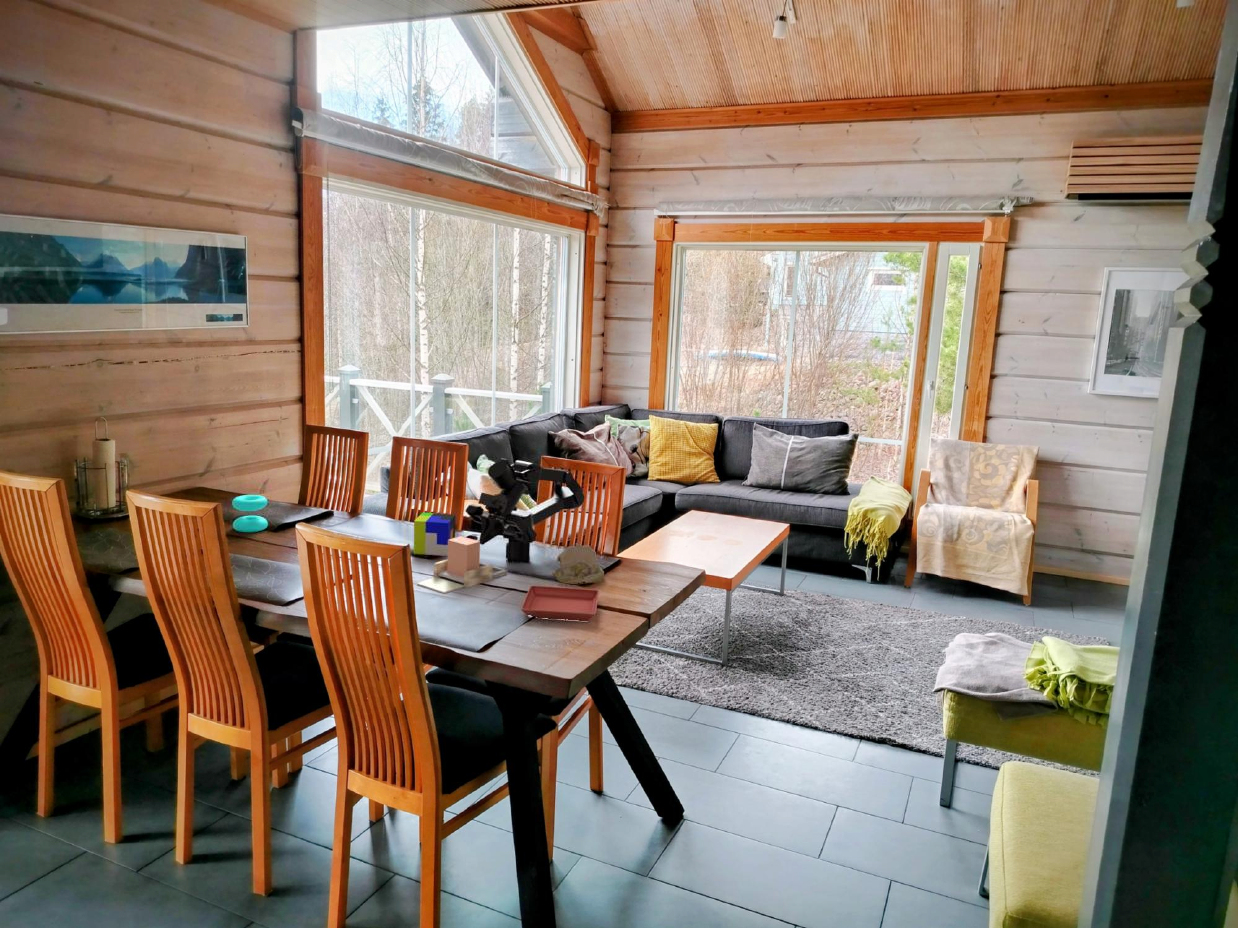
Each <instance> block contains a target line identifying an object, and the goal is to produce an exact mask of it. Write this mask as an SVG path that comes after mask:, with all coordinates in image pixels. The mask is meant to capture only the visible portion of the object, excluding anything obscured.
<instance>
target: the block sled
mask: <svg viewBox="0 0 1238 928" xmlns="http://www.w3.org/2000/svg"><path fill="white" fill-rule="evenodd" d="M480 554H481V544H480V541H479V540H477V539H473V538H470V537H469V538H468V537H465V536H462V535H460V536H457V537H455V538H453V539H449V540H448V556H447V559H448V562H447V570H446V571H443V572H440V573H439V576H442V577H443V578H447V579H449V580H452V581H456V582H458V583H461V584H464V572H467V571H470V570H474V569H477V568H479V562H480V561H481V560H480V559H481V557H480Z"/></svg>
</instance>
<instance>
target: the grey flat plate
mask: <svg viewBox="0 0 1238 928" xmlns="http://www.w3.org/2000/svg"><path fill="white" fill-rule="evenodd" d="M486 565H489V564H487V563H484V562H480V561H479V568H480V567H483V566H486ZM507 574H508V569H505V568H502V567H498V566H494V565H493V575H492V579H491V580H493V579H496V578H499V577H501V576H504V575H507Z"/></svg>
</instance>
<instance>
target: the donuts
mask: <svg viewBox="0 0 1238 928" xmlns="http://www.w3.org/2000/svg"><path fill="white" fill-rule="evenodd" d="M231 504H232V506H233V508H235V510H239V511H241V512H256V511H259V510H261V509H264V508H265V507H266V506H267V505H268V499H267V498H266V497H265V496H264V495H259V494H258V495H256V494H245V495H240V496H236V497H234V498H233V500H232V502H231ZM268 525H269V523H268V520H267V519H266V518H265V517H262V516H259V515H244V516H240V517H238V518H236V519H235V520H234V521H233V522H232V527H233V529H234V530H235V531H237V532H239V533H241V532H242V533H256V532H261V531H264V530H265V529H266V528H268Z"/></svg>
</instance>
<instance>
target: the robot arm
mask: <svg viewBox="0 0 1238 928" xmlns="http://www.w3.org/2000/svg"><path fill="white" fill-rule="evenodd" d="M487 474H488V476H489V478H491V479H490V480H491V481H493V482H494V483H495V486H496V487H498V488H499V489H501V491H500V492H499V493H495V494H494V495H493V494H489V493H487V492H486V493H485V492H481V494H480V497H479V499H478V502H477V503H478V504H479V505H478V504H473V503H472V504H468V505H467V507H466V509H465V511H464V512H465V513H467V515H468V516H469V517H470V518H471V520H472V521H474V522H475V523H478V524H481V530H480V534H479V540H478V541H480V545H481V546H484V545H485V544H486V543H488V542H489V541H491V540H492V539H494V538H496V537H498V536H500V535H501V534H502V539H507V540H508V541H507V542H506V543H505V559H506V562H507V563H512V562H519V563H518V564H521V563H520V562H525V564H529V562H530V563H531V561H530V559H531V556H530V553H531V552H530V551H531V550H530V548H531V544H532V543H534V542H535V541H536V540H537V535H538V534H537V532H536V531H535V530H534V527H535V526H536V525H538V524H540V523H542V522H543V521H545V520H547V519H549V518H551V517H552V516H555V515H556V514H558V513H559V512H561V511H565V510H575V509H578V508H580V507H581V506H582V505H583V503H584V502H585V494H584V491H583V489H582V487H581V484H579V482H577V480H576V479H575V478H574V476H573V475H574V474H573V473H572V472H571V471H569V470H566V469H560V468H555V469H554V468H549V467H542V466H541V465H539V464H537V463H534V462H529V461H526V460H525V461H524V460H521V459H520V460H519V459H518V460H515V461H514V463H512V464H511V463H510V461H509V460H508V459H507V458H501V459H500V460H499V461H496V462H494V463H493V464H492V465H490V466H489V467H488V470H487ZM540 481H546V482H554V487H553V491H554V494H553V496H552V497H551V498H548V499H547V500H545V501H543V502H541V503H539V504H537V505H535V506H534V507H531V508H530V509H528V510H524V509H520V508H518V506H517V505H518V503H519V501H520V500H521V498H522V496H523V495H525V496H529V489H528V485H526V484H524V483H523V482H525V483H531V484H533V483H534V484H535V483H538V482H540ZM562 484H565V485H562ZM481 505H484V506H485V507H484V508H483V507H482V506H481ZM485 509H486V510H487V511H486V510H485ZM526 562H527V563H526Z"/></svg>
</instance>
